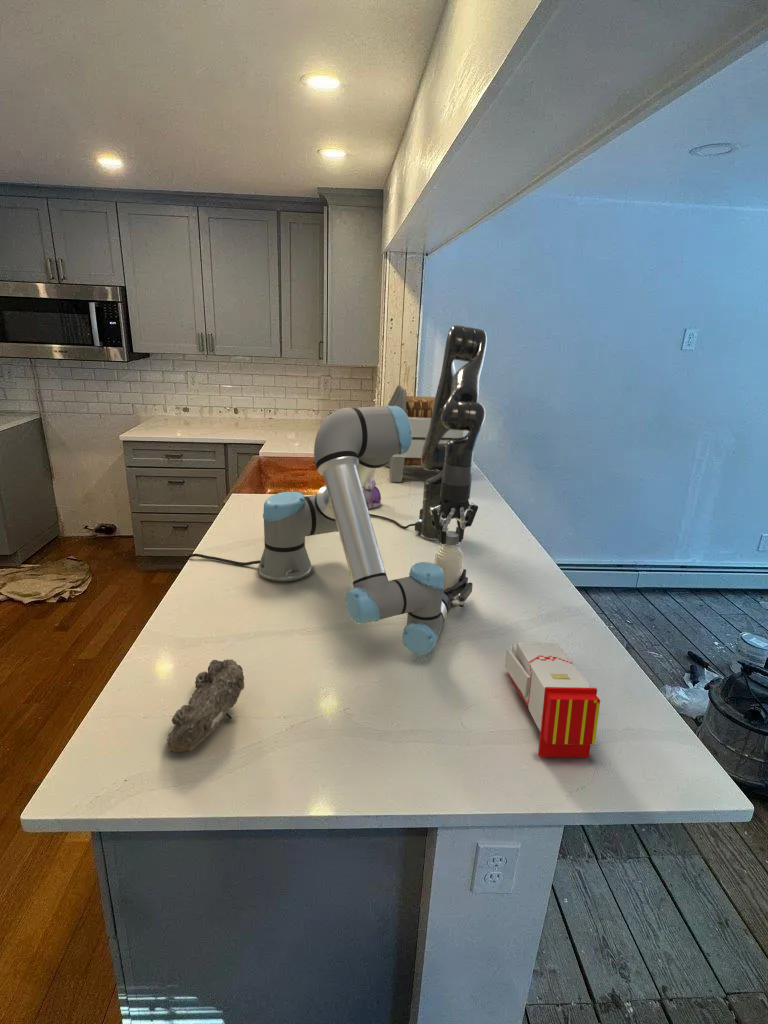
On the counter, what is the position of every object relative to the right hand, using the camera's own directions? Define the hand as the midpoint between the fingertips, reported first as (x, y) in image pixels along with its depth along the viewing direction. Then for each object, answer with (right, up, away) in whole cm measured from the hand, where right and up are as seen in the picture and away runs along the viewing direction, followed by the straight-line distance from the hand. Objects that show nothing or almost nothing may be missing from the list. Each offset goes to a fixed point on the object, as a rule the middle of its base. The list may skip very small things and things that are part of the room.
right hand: (450, 542), depth 150 cm
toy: (+14, -32, -35) cm, 50 cm away
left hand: (+1, -9, +8) cm, 12 cm away
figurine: (-23, +10, +77) cm, 81 cm away
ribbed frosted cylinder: (-1, -16, +6) cm, 17 cm away
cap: (0, +2, -1) cm, 2 cm away
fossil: (-50, -31, -42) cm, 72 cm away
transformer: (0, +27, +125) cm, 128 cm away
